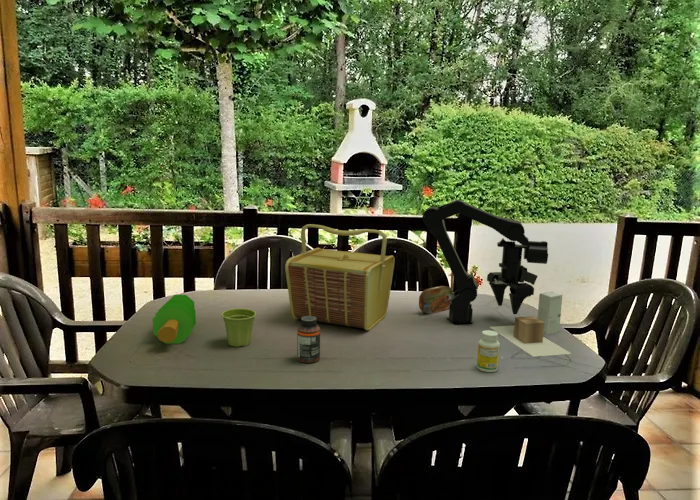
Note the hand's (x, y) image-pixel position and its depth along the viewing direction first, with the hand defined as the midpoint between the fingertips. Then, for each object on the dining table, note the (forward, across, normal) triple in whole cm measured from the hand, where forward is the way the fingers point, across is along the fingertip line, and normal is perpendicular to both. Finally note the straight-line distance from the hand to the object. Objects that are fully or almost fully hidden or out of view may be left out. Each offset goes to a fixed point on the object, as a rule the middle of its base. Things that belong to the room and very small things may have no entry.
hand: (507, 309), depth 175 cm
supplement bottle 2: (+6, -30, +22) cm, 37 cm away
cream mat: (+6, -13, 0) cm, 14 cm away
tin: (+6, +20, +16) cm, 26 cm away
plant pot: (+6, 0, +83) cm, 83 cm away
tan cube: (+2, -10, 0) cm, 10 cm away
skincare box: (+6, -6, -11) cm, 14 cm away
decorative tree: (+6, +11, +100) cm, 100 cm away
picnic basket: (+6, +16, +50) cm, 53 cm away
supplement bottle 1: (+6, -16, +66) cm, 68 cm away
